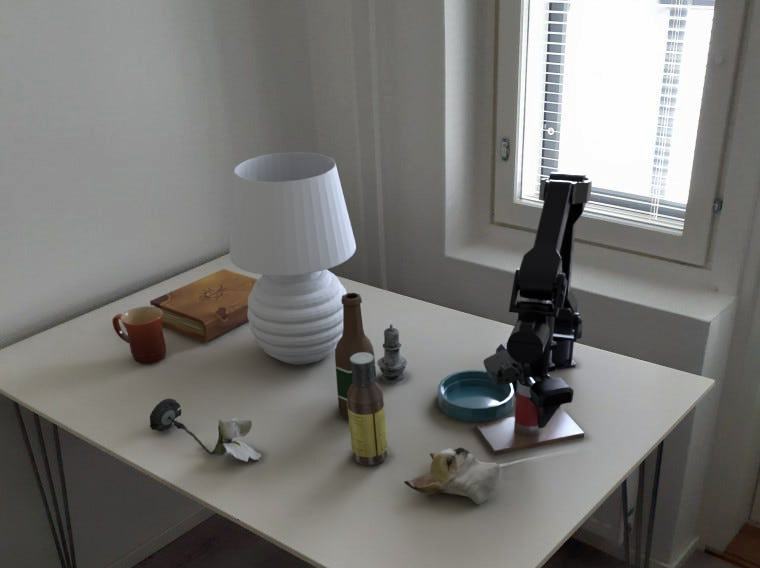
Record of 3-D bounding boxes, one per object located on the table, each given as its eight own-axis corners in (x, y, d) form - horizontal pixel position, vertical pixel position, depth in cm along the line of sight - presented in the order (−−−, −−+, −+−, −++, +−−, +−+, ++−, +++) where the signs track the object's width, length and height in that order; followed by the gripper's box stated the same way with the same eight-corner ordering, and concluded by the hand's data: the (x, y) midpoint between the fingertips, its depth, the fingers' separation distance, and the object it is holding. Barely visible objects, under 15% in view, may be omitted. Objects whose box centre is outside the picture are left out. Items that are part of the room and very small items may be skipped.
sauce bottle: (379, 443, 154) (375, 344, 144) (393, 461, 149) (389, 360, 139) (345, 452, 152) (338, 352, 142) (358, 471, 147) (352, 369, 137)
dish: (495, 378, 171) (496, 364, 170) (525, 415, 160) (526, 400, 158) (427, 391, 169) (427, 377, 167) (453, 429, 157) (453, 414, 155)
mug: (178, 351, 188) (170, 308, 183) (156, 370, 181) (147, 326, 176) (132, 344, 192) (123, 302, 187) (109, 362, 185) (99, 319, 180)
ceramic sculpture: (485, 476, 130) (399, 454, 137) (486, 522, 134) (402, 498, 141) (513, 441, 137) (430, 422, 145) (514, 486, 141) (433, 465, 149)
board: (560, 412, 160) (561, 407, 159) (584, 438, 152) (584, 432, 152) (474, 429, 157) (475, 423, 156) (494, 456, 149) (494, 450, 148)
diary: (208, 344, 190) (204, 321, 187) (154, 323, 201) (149, 301, 197) (280, 307, 205) (278, 284, 202) (226, 289, 215) (223, 268, 212)
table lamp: (385, 345, 186) (378, 159, 165) (305, 395, 170) (286, 196, 149) (300, 316, 200) (283, 141, 179) (218, 359, 184) (190, 173, 163)
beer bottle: (383, 403, 166) (379, 288, 153) (371, 425, 159) (365, 307, 147) (345, 398, 168) (338, 284, 155) (331, 419, 162) (322, 302, 149)
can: (536, 418, 157) (539, 370, 151) (549, 433, 152) (553, 384, 147) (509, 423, 156) (511, 375, 150) (521, 438, 151) (524, 389, 146)
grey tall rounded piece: (405, 386, 171) (403, 331, 164) (375, 384, 172) (373, 330, 166) (409, 371, 176) (408, 318, 169) (381, 369, 177) (378, 317, 170)
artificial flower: (183, 422, 166) (190, 375, 162) (263, 476, 154) (273, 427, 150) (145, 432, 159) (152, 383, 155) (226, 489, 147) (235, 438, 143)
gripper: (469, 319, 150) (467, 396, 158) (513, 369, 135) (509, 451, 143) (528, 309, 152) (524, 386, 161) (578, 357, 137) (570, 439, 145)
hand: (530, 414), depth 152 cm, fingers open, 9 cm apart
